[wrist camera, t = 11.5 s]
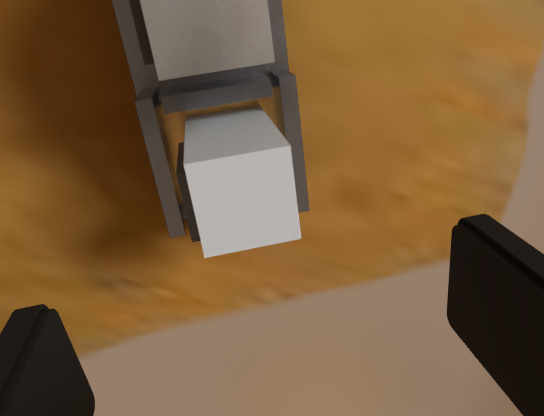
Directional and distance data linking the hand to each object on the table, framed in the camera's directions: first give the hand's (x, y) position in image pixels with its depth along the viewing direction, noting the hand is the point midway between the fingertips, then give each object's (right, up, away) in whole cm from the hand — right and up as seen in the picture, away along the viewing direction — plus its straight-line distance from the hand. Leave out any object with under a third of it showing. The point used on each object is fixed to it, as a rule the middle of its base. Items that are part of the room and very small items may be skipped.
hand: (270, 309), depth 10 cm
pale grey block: (-2, +6, +14) cm, 15 cm away
